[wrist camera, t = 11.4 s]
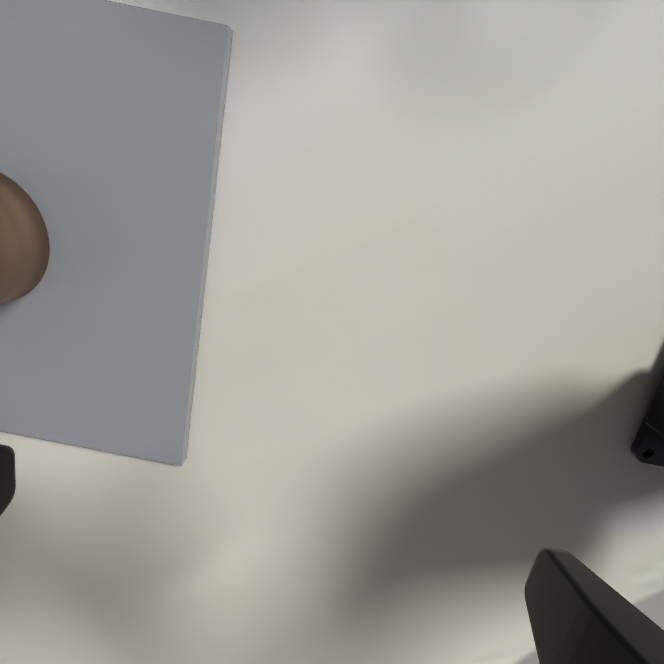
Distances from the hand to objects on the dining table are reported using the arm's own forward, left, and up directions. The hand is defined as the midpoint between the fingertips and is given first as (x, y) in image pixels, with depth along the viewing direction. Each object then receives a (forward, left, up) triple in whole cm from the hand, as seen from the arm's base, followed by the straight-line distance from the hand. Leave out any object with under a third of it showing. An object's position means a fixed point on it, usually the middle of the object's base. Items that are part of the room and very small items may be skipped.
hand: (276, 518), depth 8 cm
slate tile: (+14, -1, -12) cm, 19 cm away
